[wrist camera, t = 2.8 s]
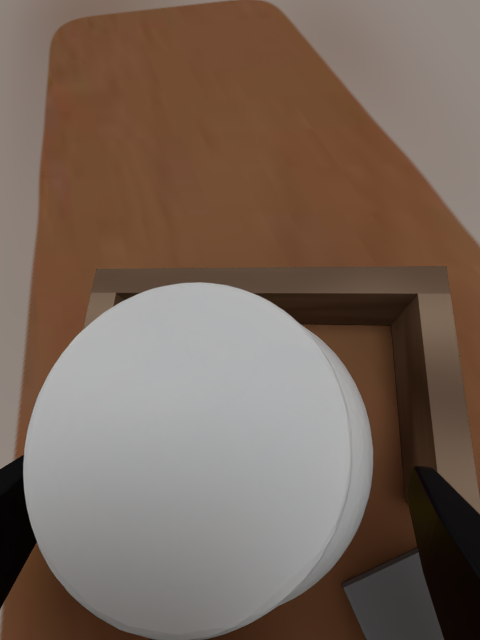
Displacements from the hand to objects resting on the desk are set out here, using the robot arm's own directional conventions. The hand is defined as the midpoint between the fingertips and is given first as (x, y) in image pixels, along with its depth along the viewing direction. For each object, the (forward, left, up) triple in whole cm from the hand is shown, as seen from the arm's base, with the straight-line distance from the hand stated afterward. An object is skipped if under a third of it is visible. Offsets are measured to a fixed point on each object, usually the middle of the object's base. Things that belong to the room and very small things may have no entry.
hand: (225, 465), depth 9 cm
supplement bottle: (+1, 0, -8) cm, 8 cm away
